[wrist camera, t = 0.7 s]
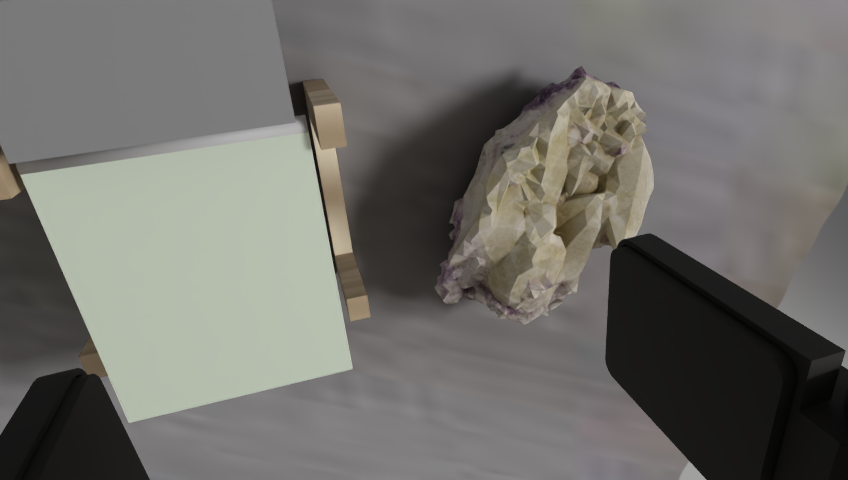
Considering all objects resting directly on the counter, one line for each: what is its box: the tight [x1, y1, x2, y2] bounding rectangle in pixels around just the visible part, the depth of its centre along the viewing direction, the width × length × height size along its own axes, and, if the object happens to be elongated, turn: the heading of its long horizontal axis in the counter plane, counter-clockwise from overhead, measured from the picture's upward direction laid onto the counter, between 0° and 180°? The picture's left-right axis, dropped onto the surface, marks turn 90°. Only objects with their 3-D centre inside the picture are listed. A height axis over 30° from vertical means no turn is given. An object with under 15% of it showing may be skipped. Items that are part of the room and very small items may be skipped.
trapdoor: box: [0, 0, 353, 423], centre depth 26 cm, size 20×12×5 cm, turn 6°
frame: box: [0, 79, 371, 377], centre depth 29 cm, size 13×15×9 cm
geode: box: [435, 66, 654, 325], centre depth 35 cm, size 17×9×15 cm
